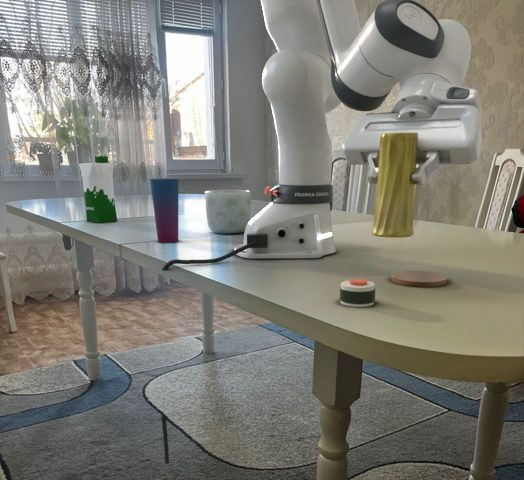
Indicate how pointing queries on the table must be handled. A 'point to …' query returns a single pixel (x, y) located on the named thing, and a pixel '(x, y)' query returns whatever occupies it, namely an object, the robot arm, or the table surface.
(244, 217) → the planter
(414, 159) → the vase
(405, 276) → the coaster
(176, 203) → the cup
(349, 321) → the table surface
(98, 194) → the milk carton
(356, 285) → the sushi
